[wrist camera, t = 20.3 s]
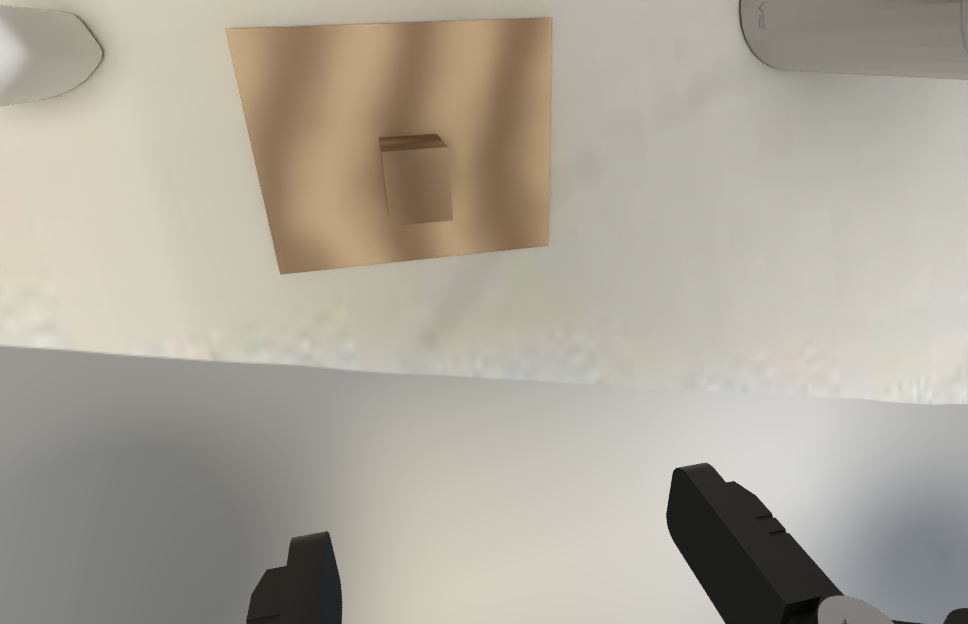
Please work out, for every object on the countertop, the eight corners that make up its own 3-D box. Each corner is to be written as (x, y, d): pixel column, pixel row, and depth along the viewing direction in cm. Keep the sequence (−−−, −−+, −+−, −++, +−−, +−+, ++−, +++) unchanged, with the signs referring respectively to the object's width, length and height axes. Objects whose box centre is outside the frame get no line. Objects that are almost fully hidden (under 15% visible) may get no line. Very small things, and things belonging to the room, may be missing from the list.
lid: (545, 18, 32) (583, 12, 27) (543, 240, 39) (573, 271, 33) (229, 29, 29) (200, 25, 24) (282, 267, 36) (268, 307, 30)
